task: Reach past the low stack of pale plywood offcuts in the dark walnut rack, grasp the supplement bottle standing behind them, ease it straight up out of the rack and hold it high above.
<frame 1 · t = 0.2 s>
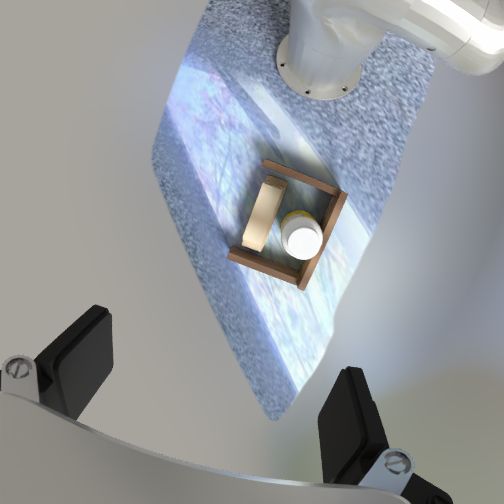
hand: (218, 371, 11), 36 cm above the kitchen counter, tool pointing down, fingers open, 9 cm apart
middle offcut: (263, 215, 45), resting on bottom offcut, touching top offcut
bottom offcut: (265, 212, 46), on the kitchen counter, touching middle offcut
supplement bottle: (298, 226, 45), on the kitchen counter
top offcut: (262, 213, 43), point 2 cm above the kitchen counter, touching middle offcut
walnut rack: (281, 219, 45), on the kitchen counter
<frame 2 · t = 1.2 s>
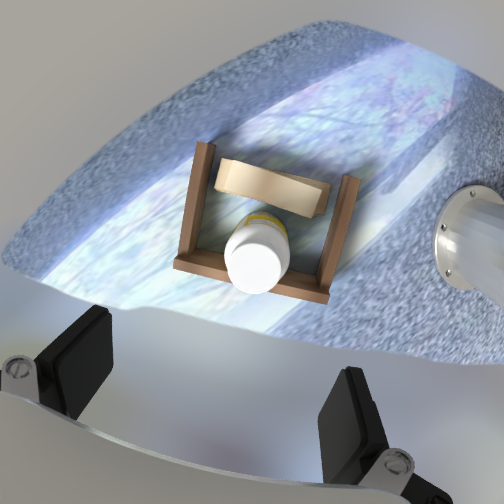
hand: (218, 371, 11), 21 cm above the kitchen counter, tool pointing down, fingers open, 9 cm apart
middle offcut: (269, 185, 29), resting on bottom offcut, touching top offcut
bottom offcut: (273, 185, 31), on the kitchen counter, touching middle offcut
supplement bottle: (261, 236, 32), on the kitchen counter
top offcut: (273, 187, 28), point 2 cm above the kitchen counter, touching middle offcut
walnut rack: (267, 211, 31), on the kitchen counter
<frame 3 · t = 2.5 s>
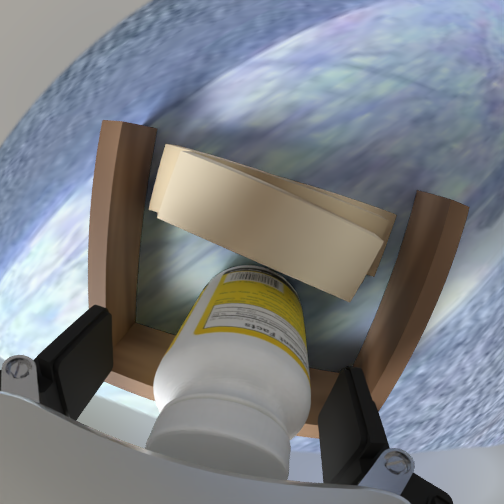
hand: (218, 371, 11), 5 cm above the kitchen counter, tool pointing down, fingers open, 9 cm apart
middle offcut: (268, 207, 14), resting on bottom offcut
bottom offcut: (276, 208, 15), on the kitchen counter, touching middle offcut
supplement bottle: (252, 309, 16), on the kitchen counter
top offcut: (271, 221, 12), point 2 cm above the kitchen counter
walnut rack: (263, 264, 15), on the kitchen counter
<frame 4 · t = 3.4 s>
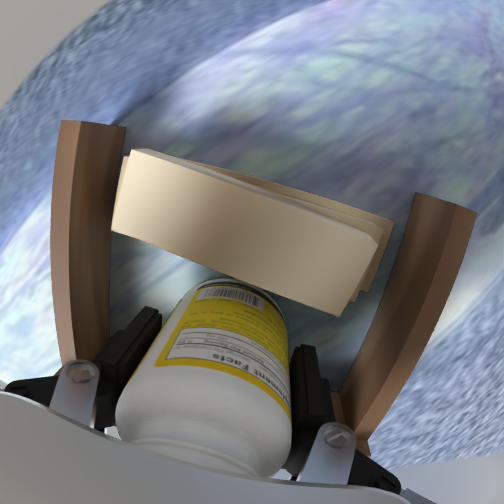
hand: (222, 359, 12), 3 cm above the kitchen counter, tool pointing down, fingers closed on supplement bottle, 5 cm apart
middle offcut: (243, 221, 12), point 1 cm above the kitchen counter, touching bottom offcut
bottom offcut: (257, 214, 13), on the kitchen counter, touching middle offcut
supplement bottle: (231, 325, 14), on the kitchen counter, touching gripper
top offcut: (243, 224, 11), point 2 cm above the kitchen counter
walnut rack: (242, 276, 13), on the kitchen counter
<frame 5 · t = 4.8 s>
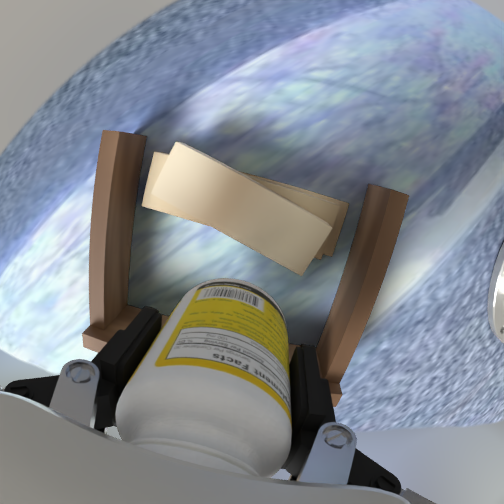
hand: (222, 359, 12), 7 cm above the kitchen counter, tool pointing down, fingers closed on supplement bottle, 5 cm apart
middle offcut: (239, 201, 17), resting on bottom offcut, touching top offcut
bottom offcut: (247, 200, 18), on the kitchen counter, touching middle offcut
supplement bottle: (231, 325, 14), point 4 cm above the kitchen counter, touching gripper
top offcut: (242, 205, 15), point 2 cm above the kitchen counter, touching middle offcut
walnut rack: (236, 249, 18), on the kitchen counter
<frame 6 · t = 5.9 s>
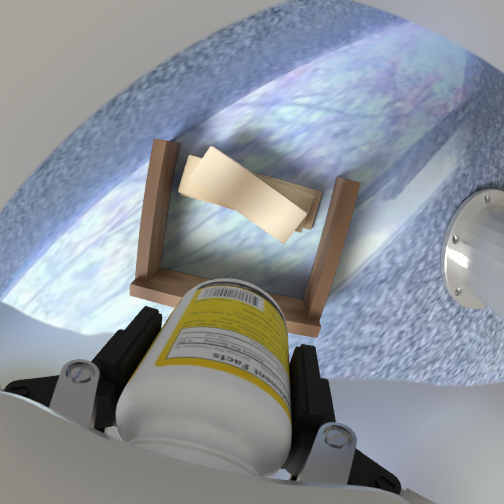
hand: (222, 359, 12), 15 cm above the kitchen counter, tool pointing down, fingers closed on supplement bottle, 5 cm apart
middle offcut: (246, 191, 24), resting on bottom offcut, touching top offcut
bottom offcut: (251, 191, 25), on the kitchen counter, touching middle offcut
supplement bottle: (231, 325, 14), point 12 cm above the kitchen counter, touching gripper
top offcut: (249, 193, 23), point 2 cm above the kitchen counter, touching middle offcut
walnut rack: (243, 223, 25), on the kitchen counter
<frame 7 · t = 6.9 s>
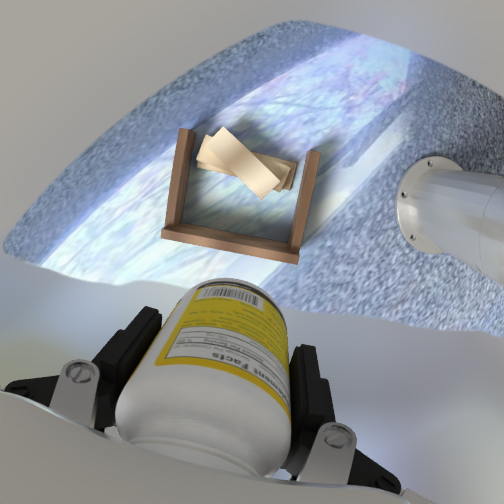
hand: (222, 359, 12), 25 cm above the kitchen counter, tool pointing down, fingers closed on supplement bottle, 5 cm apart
middle offcut: (243, 162, 33), resting on bottom offcut, touching top offcut
bottom offcut: (246, 164, 35), on the kitchen counter, touching middle offcut
supplement bottle: (231, 325, 14), point 22 cm above the kitchen counter, touching gripper
top offcut: (243, 162, 32), point 2 cm above the kitchen counter, touching middle offcut
walnut rack: (242, 186, 35), on the kitchen counter
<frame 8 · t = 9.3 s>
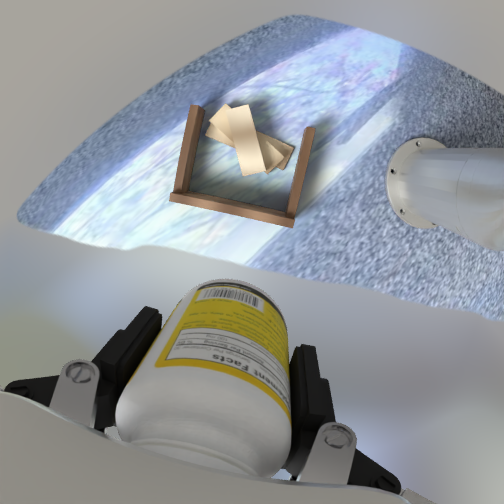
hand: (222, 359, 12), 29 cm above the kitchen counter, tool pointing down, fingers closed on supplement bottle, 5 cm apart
middle offcut: (247, 138, 37), resting on bottom offcut, touching top offcut
bottom offcut: (249, 141, 38), on the kitchen counter, touching middle offcut
supplement bottle: (231, 326, 14), point 27 cm above the kitchen counter, touching gripper
top offcut: (246, 140, 35), point 2 cm above the kitchen counter, touching middle offcut
walnut rack: (245, 159, 38), on the kitchen counter
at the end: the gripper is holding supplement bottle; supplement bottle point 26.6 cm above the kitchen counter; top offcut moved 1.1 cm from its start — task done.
